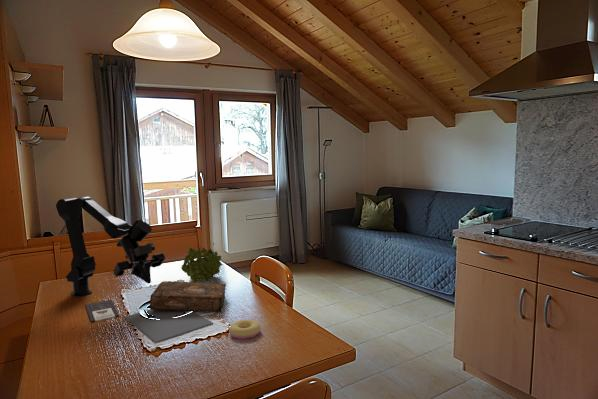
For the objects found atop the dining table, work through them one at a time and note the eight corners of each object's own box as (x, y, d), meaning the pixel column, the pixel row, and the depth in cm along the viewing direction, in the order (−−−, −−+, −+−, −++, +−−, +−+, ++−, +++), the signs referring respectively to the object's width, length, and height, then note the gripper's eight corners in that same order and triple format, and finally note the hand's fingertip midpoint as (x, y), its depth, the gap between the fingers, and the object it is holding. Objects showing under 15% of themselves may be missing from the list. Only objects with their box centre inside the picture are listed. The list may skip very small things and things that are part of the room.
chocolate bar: (111, 299, 160) (119, 315, 145) (111, 301, 160) (119, 317, 145) (85, 304, 156) (90, 321, 140) (85, 306, 156) (91, 323, 141)
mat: (124, 317, 144) (124, 316, 144) (177, 303, 158) (177, 302, 158) (155, 343, 125) (155, 341, 125) (213, 324, 139) (213, 322, 139)
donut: (227, 337, 134) (236, 345, 126) (224, 324, 134) (233, 331, 125) (255, 326, 138) (266, 333, 130) (252, 313, 138) (263, 319, 130)
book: (149, 311, 146) (220, 313, 148) (150, 296, 145) (221, 299, 147) (161, 294, 162) (225, 297, 164) (161, 281, 162) (226, 283, 164)
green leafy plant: (200, 261, 199) (222, 241, 194) (210, 289, 191) (234, 269, 186) (171, 257, 184) (194, 235, 179) (181, 286, 176) (205, 265, 171)
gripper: (115, 240, 146) (132, 277, 141) (161, 232, 161) (179, 265, 155) (106, 258, 152) (122, 294, 147) (151, 249, 167) (168, 280, 161)
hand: (149, 282), depth 152 cm, fingers closed
